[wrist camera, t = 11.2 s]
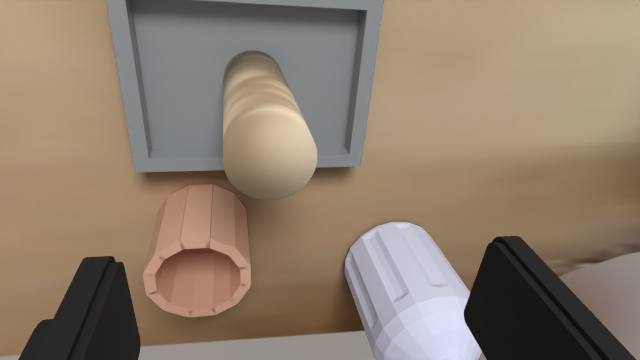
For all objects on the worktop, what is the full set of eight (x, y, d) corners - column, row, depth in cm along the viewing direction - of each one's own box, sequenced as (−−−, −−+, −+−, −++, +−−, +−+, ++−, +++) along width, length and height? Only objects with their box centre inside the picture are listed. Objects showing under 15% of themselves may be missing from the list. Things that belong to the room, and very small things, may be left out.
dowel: (283, 51, 27) (320, 115, 17) (282, 108, 29) (314, 198, 19) (221, 49, 26) (220, 115, 16) (224, 108, 28) (224, 202, 18)
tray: (372, -11, 27) (385, -7, 25) (352, 152, 33) (360, 166, 31) (112, -29, 24) (101, -26, 21) (141, 156, 29) (135, 172, 27)
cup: (245, 182, 32) (250, 236, 26) (247, 250, 36) (251, 311, 30) (154, 186, 31) (136, 243, 25) (164, 256, 34) (151, 321, 28)
